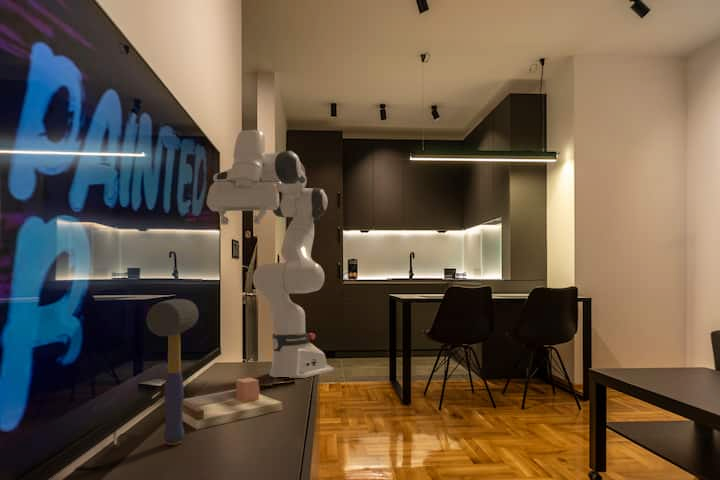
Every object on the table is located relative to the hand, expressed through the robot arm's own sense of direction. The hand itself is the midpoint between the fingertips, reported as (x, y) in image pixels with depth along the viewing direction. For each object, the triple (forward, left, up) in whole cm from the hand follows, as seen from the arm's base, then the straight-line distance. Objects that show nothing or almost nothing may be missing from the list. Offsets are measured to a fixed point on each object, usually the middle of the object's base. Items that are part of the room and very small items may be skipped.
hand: (240, 223), depth 134 cm
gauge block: (0, +3, -47) cm, 47 cm away
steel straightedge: (+6, 0, -47) cm, 47 cm away
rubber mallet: (+24, +19, -49) cm, 58 cm away
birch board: (+6, +6, -49) cm, 50 cm away
